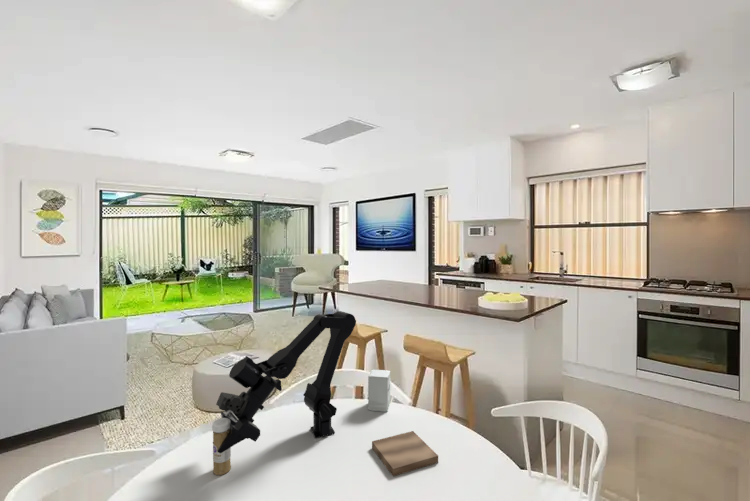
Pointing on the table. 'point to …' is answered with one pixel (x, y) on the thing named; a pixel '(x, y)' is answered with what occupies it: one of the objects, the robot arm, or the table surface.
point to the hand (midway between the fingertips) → (216, 448)
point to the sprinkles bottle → (219, 434)
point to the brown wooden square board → (404, 453)
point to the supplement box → (379, 390)
